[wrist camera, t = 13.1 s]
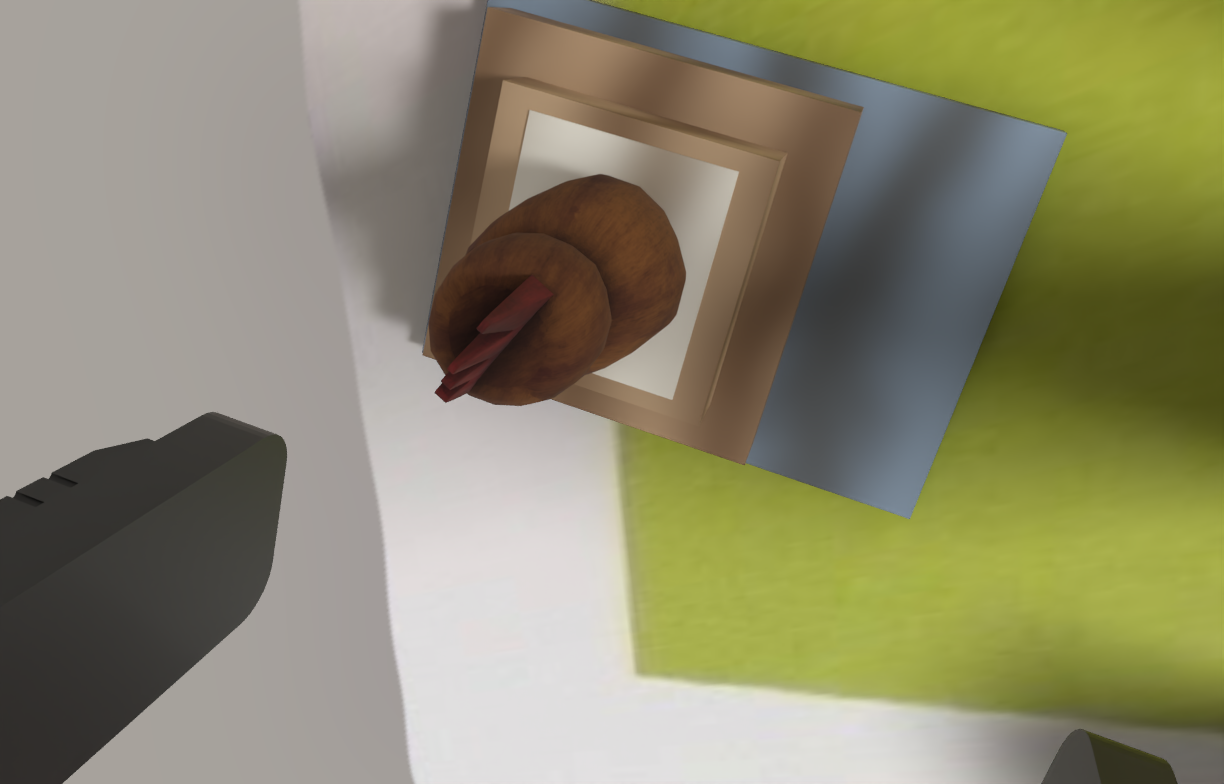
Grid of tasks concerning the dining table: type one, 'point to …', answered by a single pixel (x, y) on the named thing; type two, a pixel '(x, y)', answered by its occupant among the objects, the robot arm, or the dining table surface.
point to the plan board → (881, 268)
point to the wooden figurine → (556, 292)
